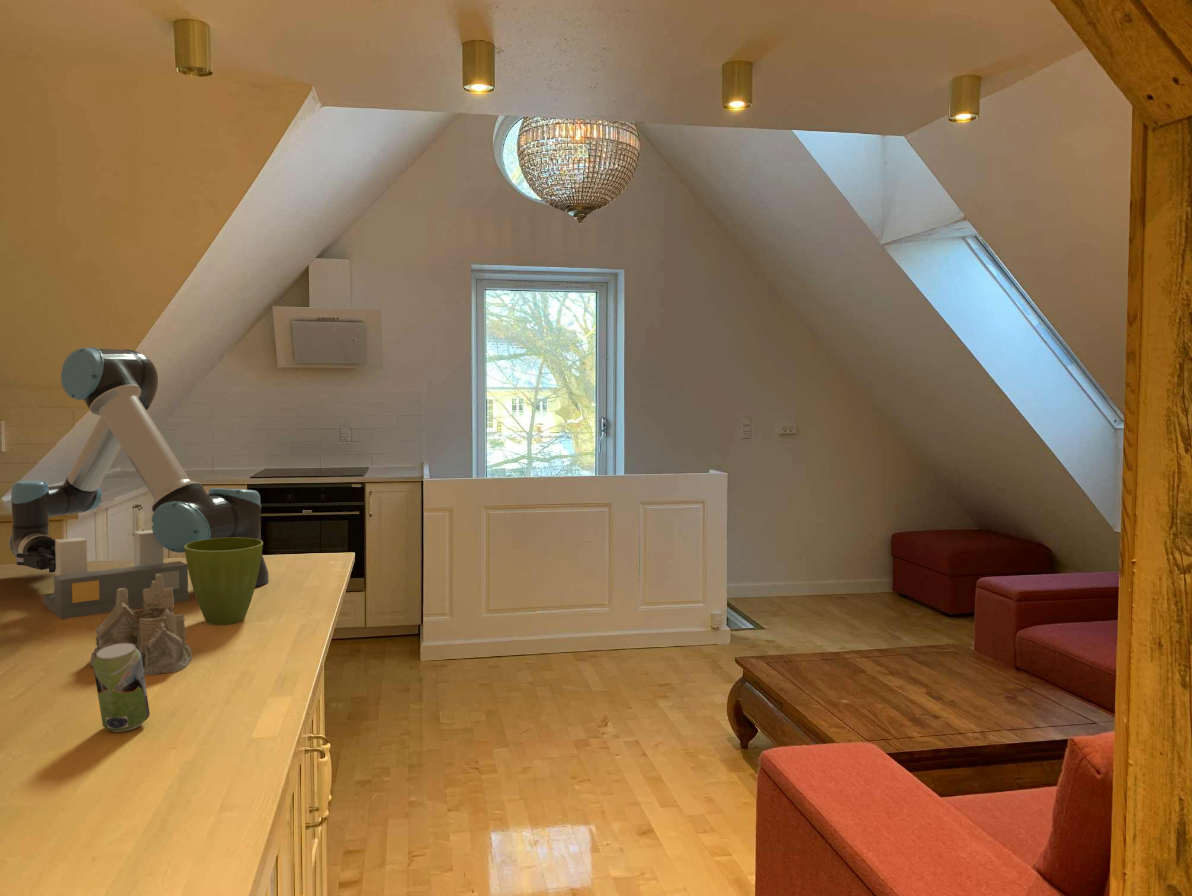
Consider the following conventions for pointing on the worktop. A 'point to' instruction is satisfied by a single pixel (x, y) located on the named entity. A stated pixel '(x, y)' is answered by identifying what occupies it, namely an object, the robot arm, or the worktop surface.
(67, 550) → the key
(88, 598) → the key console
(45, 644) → the worktop surface
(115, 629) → the ceramic cottage
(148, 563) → the key
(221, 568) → the flower pot
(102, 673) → the beverage can
